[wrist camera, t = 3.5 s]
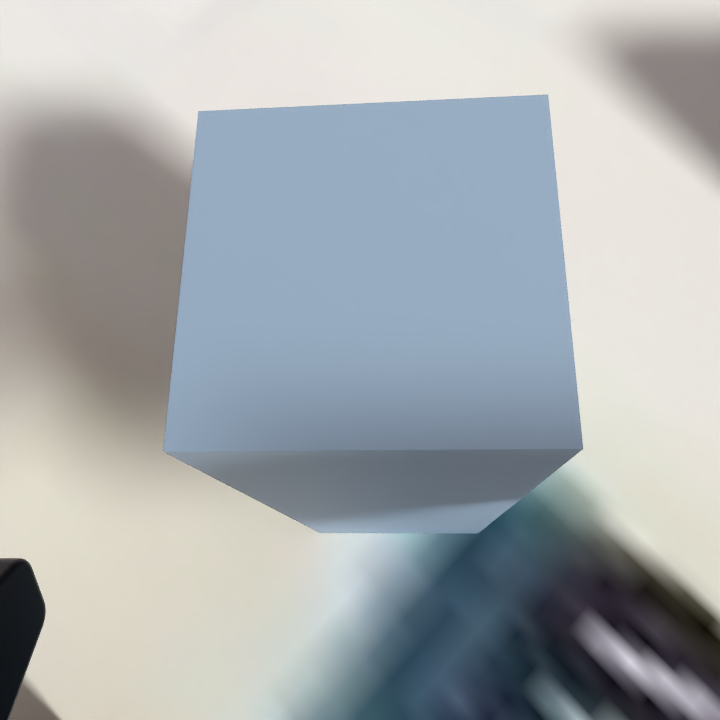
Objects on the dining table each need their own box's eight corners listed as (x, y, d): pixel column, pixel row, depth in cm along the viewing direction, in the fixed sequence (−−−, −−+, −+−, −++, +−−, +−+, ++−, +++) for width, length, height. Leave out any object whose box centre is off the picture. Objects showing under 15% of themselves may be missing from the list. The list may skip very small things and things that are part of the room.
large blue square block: (477, 533, 19) (583, 448, 7) (319, 533, 19) (162, 452, 7) (470, 380, 20) (548, 94, 8) (323, 382, 21) (198, 111, 9)
